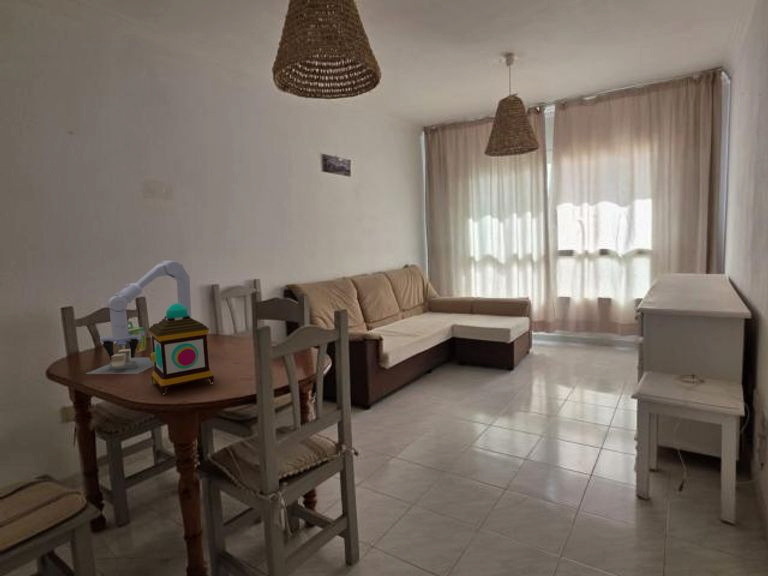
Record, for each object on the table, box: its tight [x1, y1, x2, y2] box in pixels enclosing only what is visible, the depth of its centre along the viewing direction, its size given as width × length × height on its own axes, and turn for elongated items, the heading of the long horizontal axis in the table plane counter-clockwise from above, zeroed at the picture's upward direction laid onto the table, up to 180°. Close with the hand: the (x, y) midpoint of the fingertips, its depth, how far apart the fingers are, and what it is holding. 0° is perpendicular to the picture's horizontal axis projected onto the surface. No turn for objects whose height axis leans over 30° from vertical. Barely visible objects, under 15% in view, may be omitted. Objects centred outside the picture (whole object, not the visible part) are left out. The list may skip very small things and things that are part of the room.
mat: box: [85, 356, 155, 375], centre depth 190 cm, size 22×24×1 cm
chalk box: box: [115, 320, 148, 355], centre depth 213 cm, size 9×9×15 cm
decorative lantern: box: [147, 302, 215, 395], centre depth 162 cm, size 20×20×30 cm
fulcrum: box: [109, 361, 138, 370], centre depth 185 cm, size 10×4×3 cm, turn 85°
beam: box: [110, 349, 132, 366], centre depth 184 cm, size 12×4×4 cm, turn 13°
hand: (122, 358), depth 185 cm, fingers open, 7 cm apart
